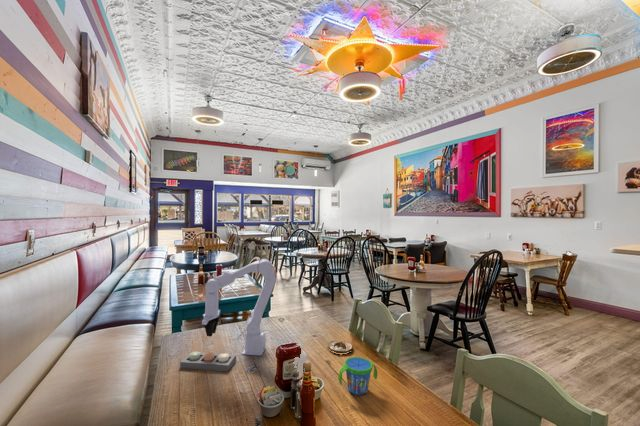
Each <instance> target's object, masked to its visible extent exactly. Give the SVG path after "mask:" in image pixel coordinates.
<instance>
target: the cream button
mask: <svg viewBox="0 0 640 426" xmlns="http://www.w3.org/2000/svg"><path fill="white" fill-rule="evenodd" d="M219 354H220V355H219V356H218V362H223V363H227V362H228V361H229V353H219Z"/></svg>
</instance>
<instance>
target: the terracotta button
mask: <svg viewBox="0 0 640 426" xmlns="http://www.w3.org/2000/svg"><path fill="white" fill-rule="evenodd" d="M205 353H206V354H204V361H208V362H212V361H213V360H214V354H215V352H205Z"/></svg>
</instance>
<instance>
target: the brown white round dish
mask: <svg viewBox="0 0 640 426" xmlns="http://www.w3.org/2000/svg"><path fill="white" fill-rule="evenodd" d="M345 343H346V344H347V345H348V346H347V345H345ZM331 345H333V346H331ZM349 346H350V348H349V350H347V349H346V348H348V347H349ZM328 348H329V349H330V350H331V351H334V352H336V353H347V352H350V351H352V352H353V351H354V350H353V349H354V346H353V344H352V343H351V342H350V341H349V340H347V341H346V340H333V341H332V340H331V341H330V342H329V343H328V346H327V349H328ZM329 349H328V350H329Z"/></svg>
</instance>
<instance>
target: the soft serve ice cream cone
mask: <svg viewBox="0 0 640 426" xmlns="http://www.w3.org/2000/svg"><path fill="white" fill-rule="evenodd" d="M296 345H298V346H300V348H301V354H300V358H299V357H295V358H294V359H295V361H294V362H293V364H295V366H294V368H297V366H296V365H297V362H298V370H297V372H299V376H300V377H302V372H303V362H305V363H306V361H307V359H308V355H307V353H306V352H305V351H304V350H303V347H302V344H300V343H296Z"/></svg>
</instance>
